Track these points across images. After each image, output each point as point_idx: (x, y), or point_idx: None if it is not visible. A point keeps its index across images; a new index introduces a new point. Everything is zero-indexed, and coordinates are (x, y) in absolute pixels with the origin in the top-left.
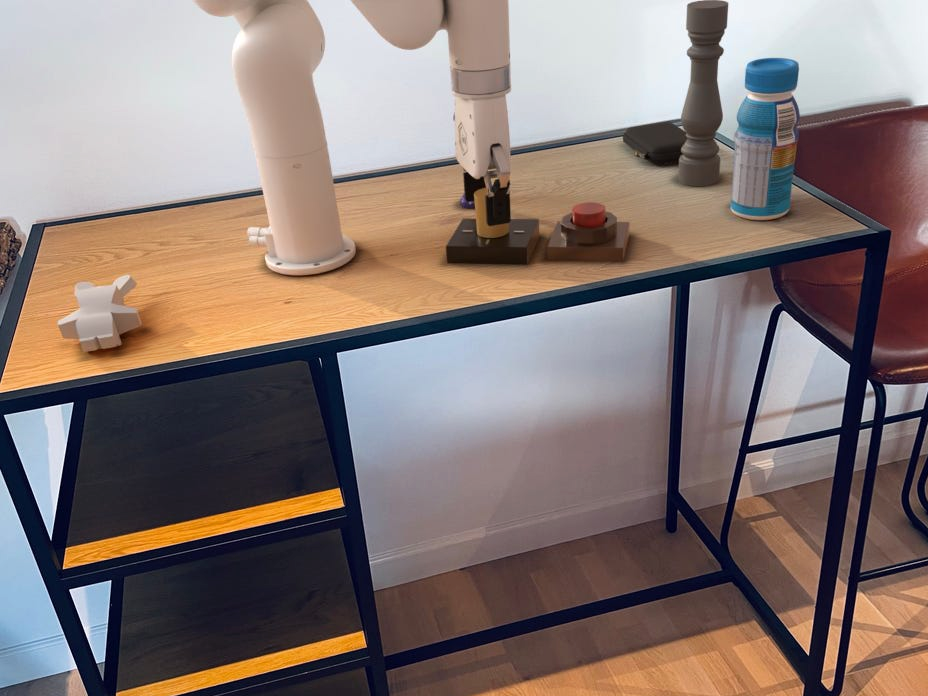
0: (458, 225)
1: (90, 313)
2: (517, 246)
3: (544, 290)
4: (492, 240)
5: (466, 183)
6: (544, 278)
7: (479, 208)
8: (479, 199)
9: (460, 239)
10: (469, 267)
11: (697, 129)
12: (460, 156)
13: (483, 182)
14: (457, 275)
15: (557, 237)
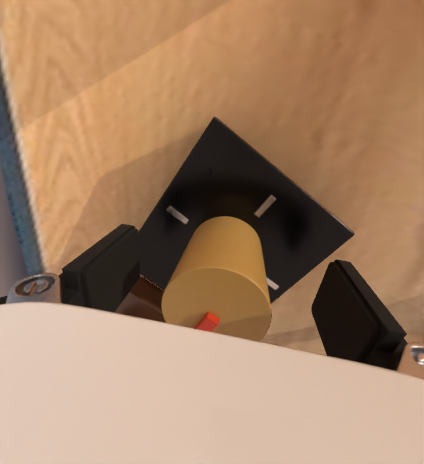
0: (320, 205)
1: None
2: None
3: (39, 220)
4: (183, 227)
5: (356, 300)
6: (79, 241)
7: (202, 249)
8: (193, 266)
9: (232, 170)
10: (176, 155)
11: None
12: (334, 436)
13: (328, 343)
14: (151, 114)
15: (155, 318)
